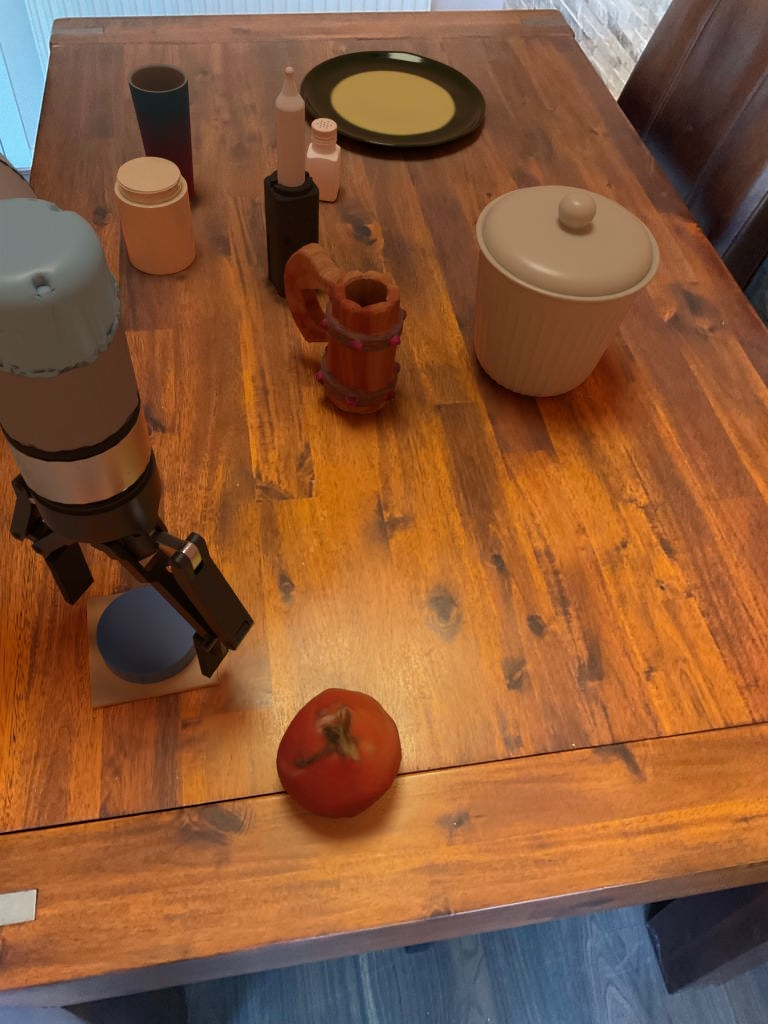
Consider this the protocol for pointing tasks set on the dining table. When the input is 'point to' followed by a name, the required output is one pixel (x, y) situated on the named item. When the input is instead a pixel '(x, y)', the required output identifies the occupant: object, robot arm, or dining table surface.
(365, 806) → the tomato
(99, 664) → the coaster
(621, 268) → the canister
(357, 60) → the plate
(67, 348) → the robot arm
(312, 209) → the candle
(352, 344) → the mug
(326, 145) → the salt shaker
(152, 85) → the cup
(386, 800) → the dining table surface
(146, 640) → the lid
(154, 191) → the jar
